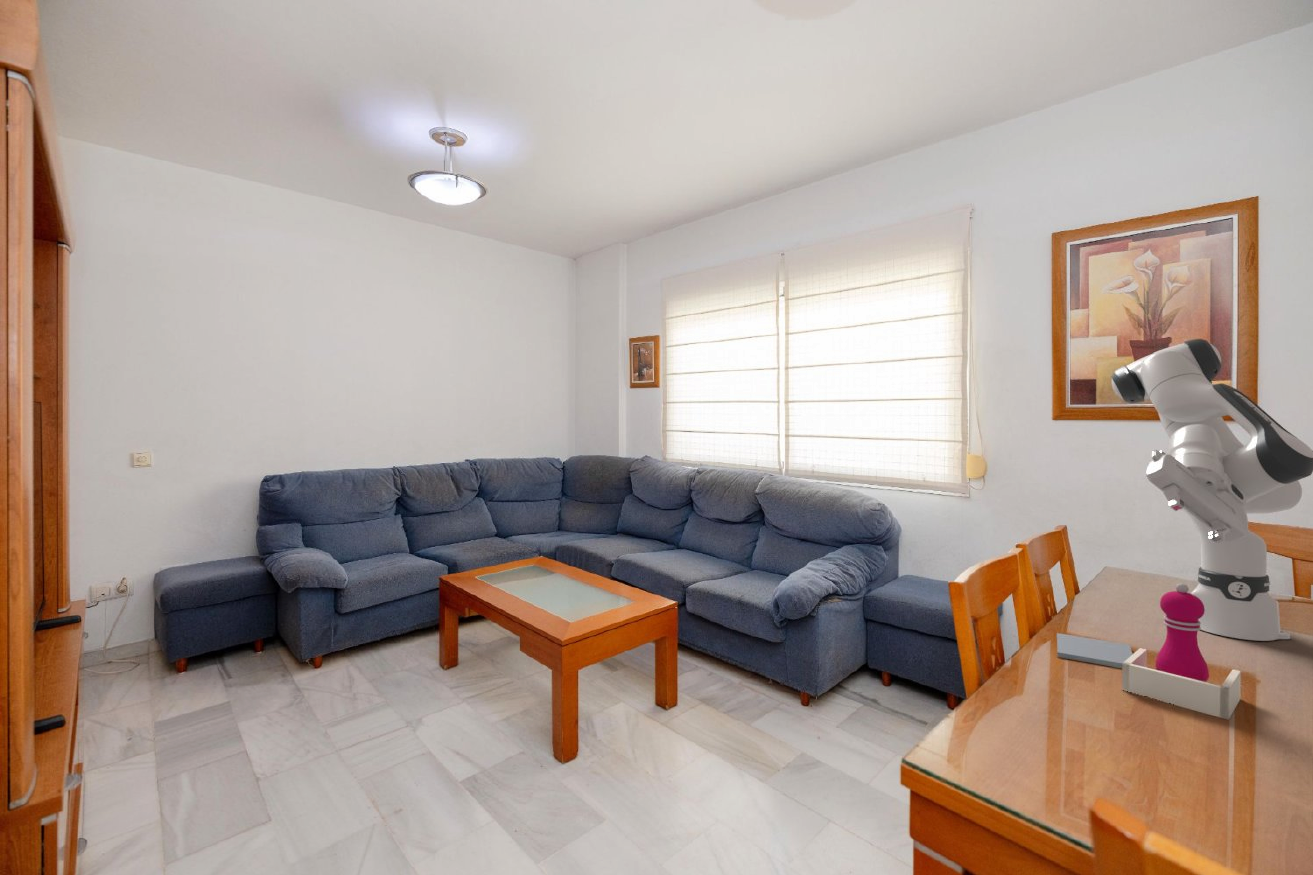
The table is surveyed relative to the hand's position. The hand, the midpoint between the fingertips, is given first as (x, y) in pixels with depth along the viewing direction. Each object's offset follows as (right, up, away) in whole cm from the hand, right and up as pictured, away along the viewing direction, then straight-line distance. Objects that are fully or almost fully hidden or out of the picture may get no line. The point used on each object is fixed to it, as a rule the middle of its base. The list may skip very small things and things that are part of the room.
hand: (1196, 523), depth 111 cm
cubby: (-8, -30, -5) cm, 31 cm away
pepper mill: (-8, -30, -5) cm, 32 cm away
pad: (-9, -30, +14) cm, 34 cm away
